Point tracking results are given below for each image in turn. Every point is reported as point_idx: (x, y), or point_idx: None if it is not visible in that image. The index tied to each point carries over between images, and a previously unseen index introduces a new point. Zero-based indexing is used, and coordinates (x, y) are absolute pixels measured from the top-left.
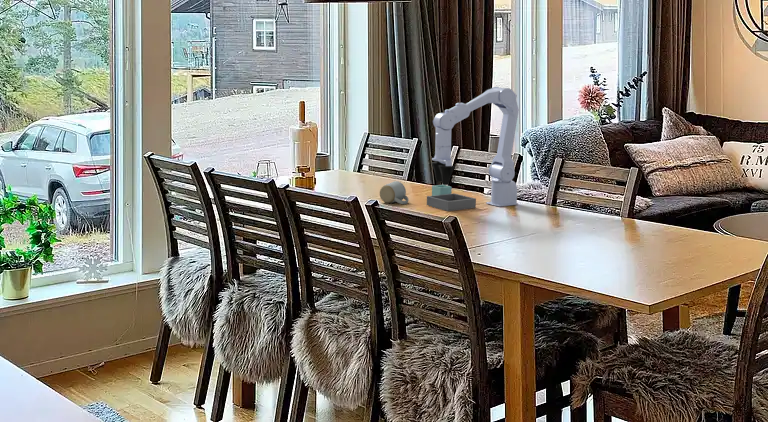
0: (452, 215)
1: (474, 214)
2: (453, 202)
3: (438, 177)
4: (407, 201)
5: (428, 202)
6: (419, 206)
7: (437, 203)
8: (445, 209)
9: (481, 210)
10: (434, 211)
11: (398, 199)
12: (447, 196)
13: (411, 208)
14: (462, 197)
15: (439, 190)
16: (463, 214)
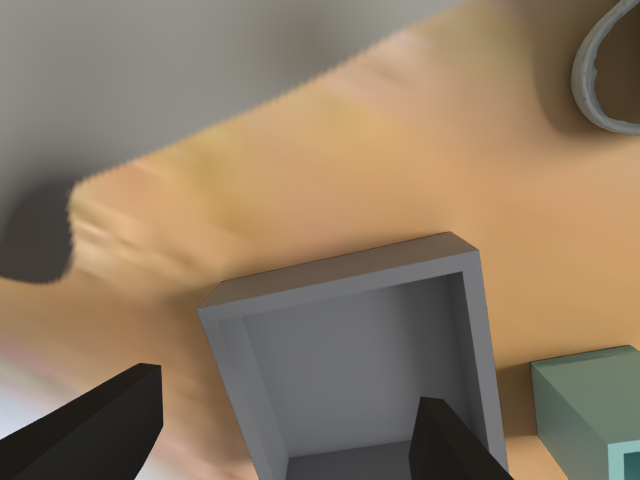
0: (91, 253)
1: (106, 376)
2: (216, 348)
3: (435, 467)
4: (585, 111)
5: (438, 242)
6: (439, 168)
7: (327, 269)
8: (244, 278)
9: (208, 452)
10: (235, 197)
11: (619, 5)
12: (478, 414)
13: (386, 75)
14: (390, 476)
15: (600, 420)
16: (113, 324)
